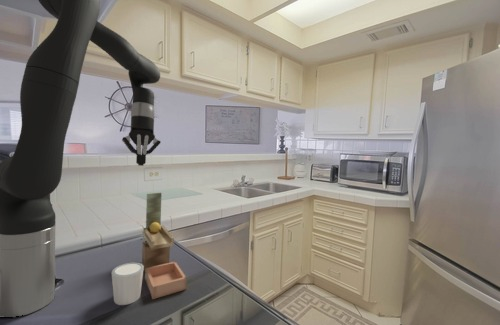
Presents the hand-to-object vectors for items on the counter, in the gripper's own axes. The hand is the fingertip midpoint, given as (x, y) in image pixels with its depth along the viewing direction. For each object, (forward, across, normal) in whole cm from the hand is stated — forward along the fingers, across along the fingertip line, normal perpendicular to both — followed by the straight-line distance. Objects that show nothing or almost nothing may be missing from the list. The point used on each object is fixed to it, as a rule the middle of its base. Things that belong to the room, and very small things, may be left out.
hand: (140, 165), depth 82 cm
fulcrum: (+31, +4, -12) cm, 34 cm away
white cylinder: (+34, -5, -25) cm, 42 cm away
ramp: (+22, +3, -13) cm, 26 cm away
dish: (+33, +4, -24) cm, 41 cm away
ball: (+20, +3, -11) cm, 23 cm away
